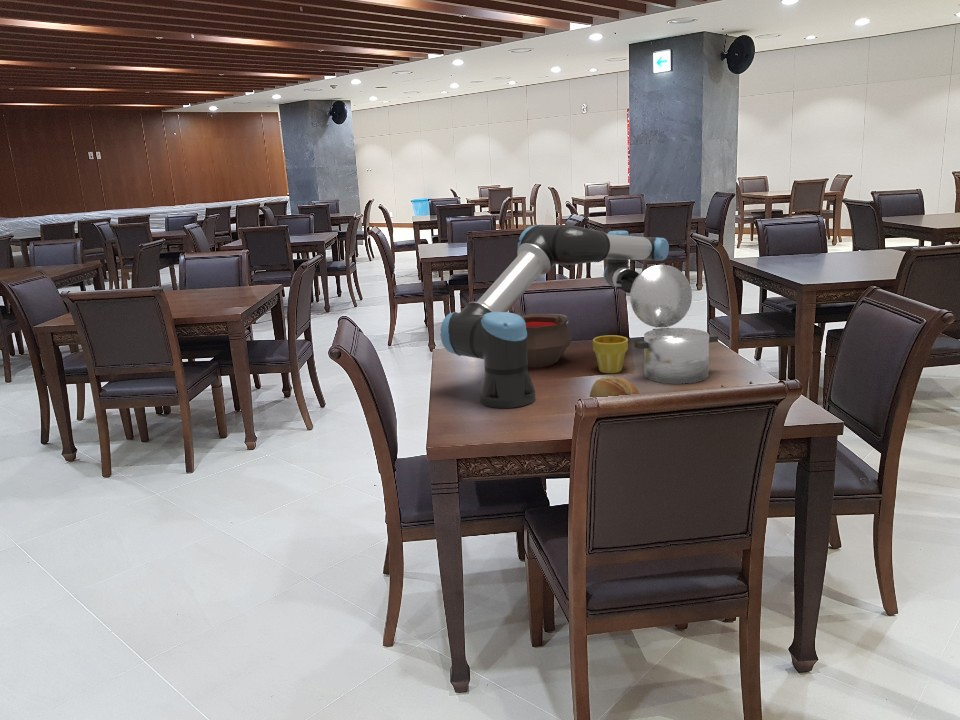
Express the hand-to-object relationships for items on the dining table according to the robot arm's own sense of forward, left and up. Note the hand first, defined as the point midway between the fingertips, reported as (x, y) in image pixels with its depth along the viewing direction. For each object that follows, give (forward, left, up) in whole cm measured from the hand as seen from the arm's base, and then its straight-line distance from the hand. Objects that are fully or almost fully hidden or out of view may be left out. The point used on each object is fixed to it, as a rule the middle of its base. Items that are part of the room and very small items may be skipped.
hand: (653, 291), depth 223 cm
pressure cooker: (0, -16, -22) cm, 27 cm away
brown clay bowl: (-35, +12, -22) cm, 43 cm away
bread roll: (-26, -39, -22) cm, 52 cm away
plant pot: (-16, -6, -22) cm, 28 cm away
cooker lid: (0, -7, -1) cm, 7 cm away
